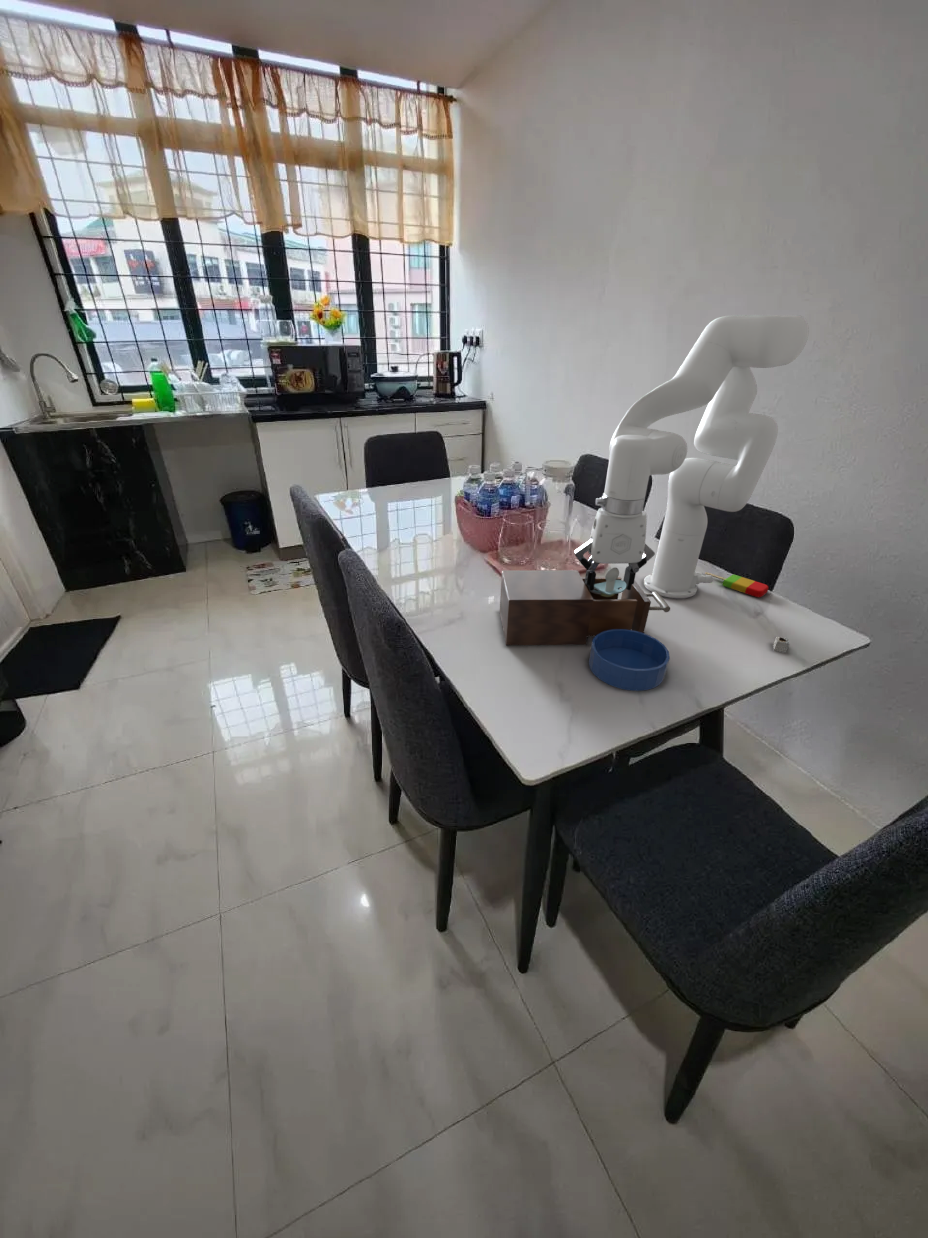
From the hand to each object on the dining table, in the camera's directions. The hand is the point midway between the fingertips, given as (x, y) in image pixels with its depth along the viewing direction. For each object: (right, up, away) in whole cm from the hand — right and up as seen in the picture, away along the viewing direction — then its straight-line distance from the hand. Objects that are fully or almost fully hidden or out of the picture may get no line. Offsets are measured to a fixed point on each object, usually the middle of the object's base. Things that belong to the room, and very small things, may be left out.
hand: (608, 586), depth 104 cm
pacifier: (0, -1, +1) cm, 2 cm away
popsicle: (+39, +2, +24) cm, 45 cm away
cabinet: (-13, -9, +4) cm, 17 cm away
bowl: (+1, -16, -8) cm, 18 cm away
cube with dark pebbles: (+35, -13, -1) cm, 37 cm away
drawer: (+2, -8, +4) cm, 9 cm away
